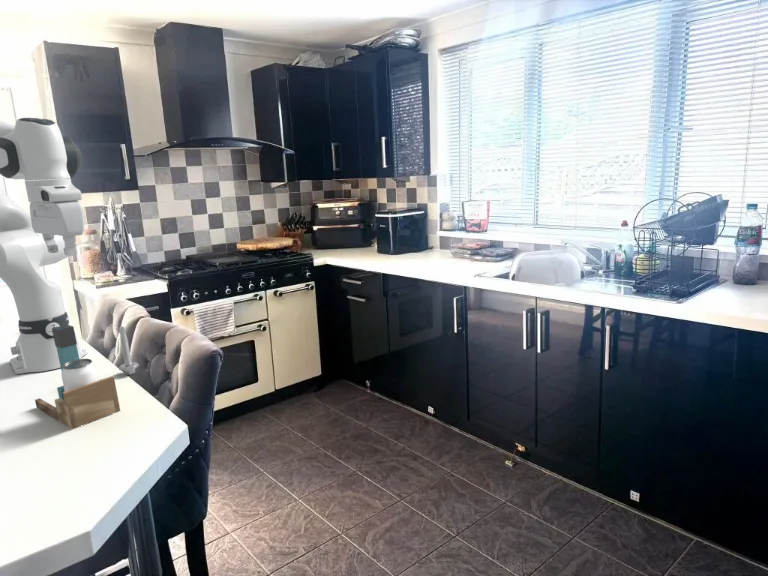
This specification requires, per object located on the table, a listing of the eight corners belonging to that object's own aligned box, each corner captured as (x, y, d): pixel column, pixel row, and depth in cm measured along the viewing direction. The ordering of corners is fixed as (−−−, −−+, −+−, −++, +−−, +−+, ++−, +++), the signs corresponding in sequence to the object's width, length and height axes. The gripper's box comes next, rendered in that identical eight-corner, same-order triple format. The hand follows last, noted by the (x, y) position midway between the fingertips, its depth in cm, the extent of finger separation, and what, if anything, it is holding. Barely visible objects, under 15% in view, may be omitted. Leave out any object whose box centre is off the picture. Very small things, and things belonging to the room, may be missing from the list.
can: (97, 404, 123) (87, 355, 119) (108, 413, 118) (98, 362, 115) (65, 415, 118) (55, 364, 115) (76, 424, 114) (65, 372, 111)
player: (61, 412, 119) (43, 330, 115) (91, 401, 124) (75, 322, 120) (67, 415, 117) (49, 332, 113) (97, 404, 122) (81, 324, 118)
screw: (119, 378, 140) (120, 372, 144) (139, 374, 141) (140, 368, 146) (110, 330, 137) (112, 325, 141) (131, 326, 138) (132, 322, 143)
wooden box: (36, 407, 124) (29, 375, 122) (82, 392, 132) (75, 361, 130) (72, 429, 112) (64, 393, 110) (120, 410, 119) (113, 376, 117)
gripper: (17, 194, 124) (29, 253, 128) (52, 193, 112) (65, 259, 115) (47, 192, 129) (58, 249, 132) (84, 191, 116) (95, 254, 120)
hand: (61, 254), depth 123 cm, fingers open, 8 cm apart
